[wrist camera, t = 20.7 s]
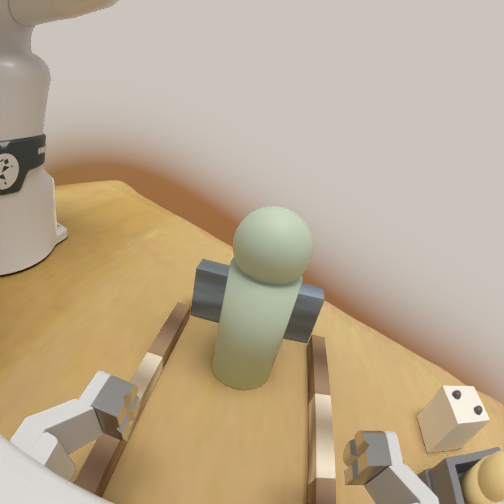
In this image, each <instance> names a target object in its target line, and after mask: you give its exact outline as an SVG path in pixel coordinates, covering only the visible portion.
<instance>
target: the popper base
mask: <svg viewBox="0 0 504 504" xmlns="http://www.w3.org/2000/svg"><path fill="white" fill-rule="evenodd" d="M497 451H500V448H499V447H496V448H492V449H488V450H484V451H480V452H475V453H471V454H466V455H460V456H455V457H449V458H445V459H444V460H443V461H441V462H440V463H439V464H438V465H436V466H435V467H434V468H432V469H425V470H424V471H423V472H421V473H420V474H419V475H417V476H418V477H419V478H420V479H421V481H422V482H423V483H424V484H425V485H426V486H427V487H428V488H429V489H430V490H431V491H432V492H433V493H434V494H435V495H436V496H437V497H438V501H439V504H464V499H463V495H462V491H461V486H460V482H459V478H460V477H461V476H462V475H463V474H464V473H465V472H466V471H467V470H469V469H470V468H471V467H473V466H474V465H475V464H476V463H478V462H479V461H480V460H481V459H482V458H484V457H485V456H488V455H491V454H493V453H495V452H497Z"/></svg>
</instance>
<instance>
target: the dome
mask: <svg viewBox="0 0 504 504" xmlns="http://www.w3.org/2000/svg"><path fill="white" fill-rule="evenodd" d="M459 482H460V486H461V491H462V495H463V499H464V504H494V503H496V502H504V450H500V451H497V452H495V453H493V454H491V455H488V456H485V457H484V458H482V459H481V460H480V461H479V462H478V463H476V464H475V465H474V466H473V467H471V468H470V469H469V470H467V471H466V472H465V473H464V474H463V475H462V476H461V477H460V478H459Z"/></svg>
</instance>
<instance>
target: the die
mask: <svg viewBox="0 0 504 504" xmlns="http://www.w3.org/2000/svg"><path fill="white" fill-rule="evenodd" d="M417 419H418V422H419V426H420V429H421V433H422V437H423V440H424V444H425V448H426V451H427V453H433V452H441V451H449V450H455V449H460V448H461V447H463V446H464V445H465V444H466V443H467V442H468V441H469V440H470V439H471V438H472V437H473V436H474V435H475V434H476V433H477V432H478V431H479V430H480V429H481V428H482V427H483V426H484V425H485V424H486V423H487V422H488V421H489V420H490V419H489V417H488V415H487V413H486V411H485V408H484V406H483V404H482V402H481V400H480V398H479V396H478V394H477V392H476V390H475V388H474V386H442V387H441V388H440V390H439V391H438V392H437V393H436V395H435V396H434V397H433V398H432V399H431V401H430V402H429V403H428V404H427V405H426V407H425V408H424V409H423V410H422V411H421V412H420V413H419V415H418V416H417Z"/></svg>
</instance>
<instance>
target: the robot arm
mask: <svg viewBox="0 0 504 504" xmlns="http://www.w3.org/2000/svg"><path fill="white" fill-rule="evenodd" d="M118 1H119V0H0V275H3V274H9V273H13V272H17V271H20V270H23V269H25V268H28V267H30V266H32V265H34V264H36V263H38V262H39V261H41V260H42V259H44V258H45V257H46V256H47V255H48V254H49V253H50V252H51V251H52V249H53V248H54V246H55V245H56V244H57V243H59V242H60V241H62V240H64V239H65V238H66V237H67V236H68V234H67V229H66V228H65V227H64V226H62V225H61V224H60V223H58V222H57V221H56V207H55V187H54V179H53V178H51V176H50V175H49V174H48V173H47V172H46V171H45V170H44V168H43V165H42V164H43V163H44V160H45V151H46V144H45V139H46V135H45V134H43V127H44V119H45V111H46V104H47V97H48V91H49V85H50V80H51V79H50V71H49V68H48V66H47V65H46V63H45V62H44V61H43V60H42V59H41V58H40V57H38V56H37V55H35V54H33V53H32V51H31V34H32V31H33V28H34V27H35V25H37V24H42V23H47V22H52V21H57V20H63V19H69V18H75V17H78V16H82V15H85V14H88V13H91V12H95V11H98V10H101V9H104V8H108V7H111V6H112V5H114V4H115V3H116V2H118ZM138 391H139V390H138V385H135V384H133V383H130V382H128V381H125V380H123V379H120V378H118V377H115V376H113V375H111V374H108V373H106V372H104V371H101V370H100V371H99V372H97V373H96V374H95V376H94V377H93V379H92V380H91V382H90V383H89V385H88V386H87V387H86V389H85V390H84V392H83V393H82V395H81V396H80V398H79V399H78V400H77V399H72V400H70V401H67V402H65V403H62V404H60V405H57V406H55V407H52V408H50V409H47V410H44V411H42V412H39V413H36V414H34V415H31V416H28V417H26V418H25V420H24V421H23V423H22V424H21V425H20V427H19V428H18V430H17V431H16V432H15V434H14V435H13V437H12V438H11V440H10V441H9V440H7V439H6V438H5V437H4V436H2V435H1V434H0V504H115V503H112V502H110V501H108V500H106V499H103V498H101V497H99V496H97V495H95V494H93V493H91V492H89V491H87V490H85V489H83V488H81V487H79V486H77V485H76V484H74V483H72V482H70V479H71V477H72V475H73V473H74V471H75V469H76V466H75V464H74V463H73V461H72V460H71V458H70V457H69V456H68V455H69V454H71V453H72V452H74V451H76V450H78V449H79V448H81V447H83V446H85V445H86V444H88V443H90V442H92V441H93V440H95V439H97V438H98V437H100V436H102V435H103V433H104V434H106V435H109V436H111V437H114V438H116V439H119V440H121V441H124V440H125V438H126V436H127V434H128V432H129V430H130V425H129V422H131V421H133V420H135V418H136V415H137V413H138V410H139V405H140V399H139V397H138V396H137V393H138ZM343 460H344V463H345V464H346V465H347V466H348V467H347V468H346V469H345V471H344V475H345V485H364V487H365V488H366V490H367V491H368V493H369V494H370V496H371V497H372V499H373V500H374V502H375V503H376V504H439V501H438V497H437V496H436V495H435V494H434V493H433V492H432V491H431V490H430V489H429V488H428V487H427V486H426V485H425V484H424V483H423V482H422V481H421V479H420V478H419V477H418V476H417V475H416V474H415V473H414V472H413V471H412V470H411V469H410V468H409V467H408V466H407V465H403V460H402V455H401V451H400V446H399V442H398V438H397V434H396V433H395V432H394V431H358V432H357V433H356V434H355V439H353V440H351V441H349V442H348V444H347V445H346V447H345V449H344V454H343ZM494 504H504V502H496V503H494Z"/></svg>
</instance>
